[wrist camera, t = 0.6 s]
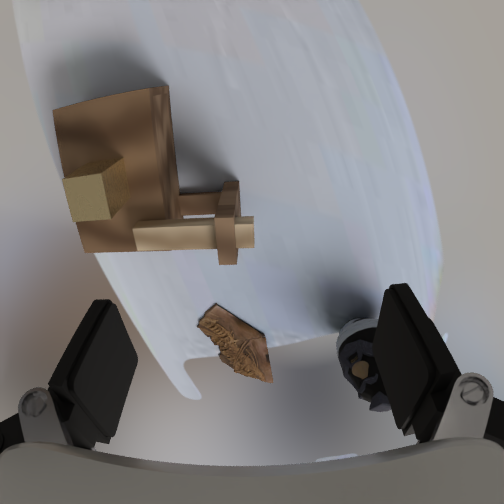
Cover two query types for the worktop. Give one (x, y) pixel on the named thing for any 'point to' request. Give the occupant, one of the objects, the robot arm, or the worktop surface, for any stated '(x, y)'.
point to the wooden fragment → (237, 343)
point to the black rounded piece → (362, 362)
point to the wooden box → (195, 203)
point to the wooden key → (188, 234)
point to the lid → (111, 168)
